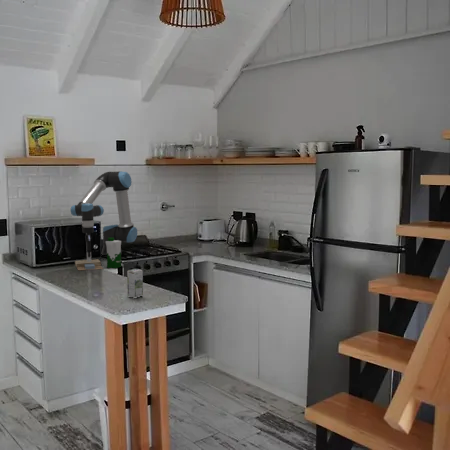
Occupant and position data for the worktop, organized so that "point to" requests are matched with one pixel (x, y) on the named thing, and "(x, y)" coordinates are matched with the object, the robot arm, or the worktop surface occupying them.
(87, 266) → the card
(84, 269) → the mat
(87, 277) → the worktop surface
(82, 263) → the board
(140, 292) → the syrup box
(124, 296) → the worktop surface
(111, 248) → the milk carton
